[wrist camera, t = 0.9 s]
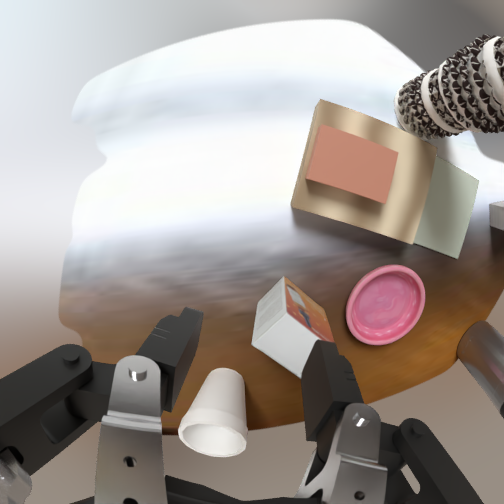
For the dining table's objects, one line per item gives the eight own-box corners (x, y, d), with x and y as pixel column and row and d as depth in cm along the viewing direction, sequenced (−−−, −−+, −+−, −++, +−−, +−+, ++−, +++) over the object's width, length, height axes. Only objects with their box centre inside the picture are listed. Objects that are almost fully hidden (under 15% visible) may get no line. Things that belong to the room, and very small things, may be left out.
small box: (324, 309, 38) (339, 352, 27) (297, 334, 39) (303, 381, 29) (283, 274, 37) (287, 311, 26) (256, 302, 38) (250, 345, 28)
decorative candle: (387, 129, 30) (532, 89, 6) (394, 71, 27) (507, -8, 3) (440, 152, 30) (582, 154, 6) (445, 96, 27) (569, 61, 3)
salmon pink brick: (390, 153, 27) (398, 152, 25) (377, 201, 29) (385, 204, 27) (318, 127, 27) (321, 124, 25) (305, 178, 29) (307, 178, 27)
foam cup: (219, 405, 44) (206, 460, 32) (187, 372, 43) (164, 428, 30) (264, 388, 42) (259, 449, 30) (232, 352, 41) (218, 414, 28)
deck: (422, 149, 30) (437, 147, 26) (399, 237, 34) (412, 244, 30) (315, 107, 30) (320, 99, 26) (290, 203, 34) (292, 207, 30)
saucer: (377, 347, 39) (383, 358, 36) (324, 308, 38) (328, 319, 35) (429, 290, 36) (439, 298, 33) (382, 241, 34) (391, 247, 31)
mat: (477, 180, 30) (478, 180, 30) (456, 258, 34) (457, 258, 34) (422, 149, 30) (423, 149, 30) (399, 237, 34) (400, 237, 34)
